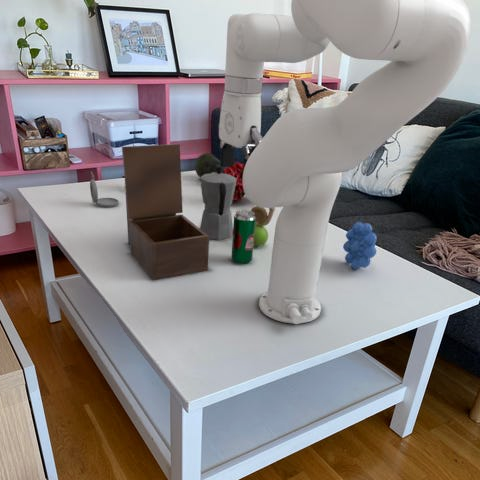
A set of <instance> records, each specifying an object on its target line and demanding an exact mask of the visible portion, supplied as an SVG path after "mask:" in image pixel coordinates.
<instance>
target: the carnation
mask: <svg viewBox="0 0 480 480" xmlns="http://www.w3.org/2000/svg"><path fill="white" fill-rule="evenodd" d="M220 163H221V160H220V159H218V157H216V156H215V155H214V154H212V153H210V152H205V153H203V154H201V155H199V156H198V157H197V158H196V161H195V165H194V169H195V173H196V175H197V176H198V178H200V177H202V176H203V175H204V174H211V173H212V172H215V173H217V170H216V166H220ZM221 173H223V174H228V175H231V176H233V177H235V178H237V181H236V186H235V191H234V196H233V201H232V203H237V202H240V201H242V200H243V198H245V196H246V195H245V192H244V189H243V177H242V174H243V163H240V162H237V161H234V165H233V166H231V167H223V168H222V172H221Z"/></svg>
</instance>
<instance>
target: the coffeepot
mask: <svg viewBox="0 0 480 480" xmlns="http://www.w3.org/2000/svg"><path fill="white" fill-rule="evenodd" d="M222 168H223V167H221V166H216V170H217V173H215V172H212V173H211V174H204V175H203V176H202V177H199V179H200V187H201V196H202V203H203V204H204V209H203V211H202V216H201V220H200V226H199V228H200V229H201V230H202V231H203V232H205V233H206V234H207V235H208V236H209V240H211V241H212V240H213V241H225V240H229V239H230V238H232V237H233V216H232V211H231V205H232V204H233V202H232V201H233V196H234V191H235V186H236V181H237V178H235V177H233V176H231V175H228V174H223V173H221V172H222Z"/></svg>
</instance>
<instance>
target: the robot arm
mask: <svg viewBox="0 0 480 480" xmlns="http://www.w3.org/2000/svg"><path fill="white" fill-rule="evenodd" d="M290 8H291V10H290V13H291V15H285V14H272V13H257V12H251V13H247V14H245V13H235V14H232V15H230V16H229V18H228V20H227V29H226V32H227V33H226V48H225V49H226V50H225V51H226V52H225V72H224V73H225V74H224V91H223V96H222V100H221V106H220V114H219V123H218V138H219V140H220V144H219V147H220V162H221V163H220V166H221V167H231V166H234V164H235V153H236V152H235V150H236V148H237V149H242V151H243V154H244V158H243V163H242V164H243V174H242V177H243V189H244V192H245V195H244V196H245V198H246V199H247V200H248V201H249V202H250V203H251V204H253V205H254V206H258V207H262V208H264V209H269V208H273V207H275V208H282V209H280V212H279V214H278V215H277V218H276V222H275V226H274V234H273V244H272V253H271V260H270V261H271V262H270V270H269V279H268V288H267V290H268V291H266V292H264V293H263V294H261V296H260V297H259V301H258V307H259V309H260V311H261V313H262V314H264V315H266V316H267V317H268V318H271V320H275V321H278V322H282V323H286V324H287V323H288V324H294V325H299V324H304V323H309V322H312V321H314V320H316V319H317V318H318V317H320V315H321V311H322V304H321V302H320V301H319V300H318V298H317V297H316V295H317V289H318V284H319V277H320V272H321V267H322V260H323V254H324V248H325V243H326V238H327V233H328V232H327V231H328V227H329V222H330V218H331V214H332V209H333V207H334V204H335V201H336V200H337V199H336V198H337V196H338V194H339V192H340V188H341V184H342V179H343V173H347V172H348V171H352V170H354V169H356V168H357V167H358V166H359V165H360V164H362V163H363V162H365V160H366V159H367V158H369V157H370V156H371V155H372V154H373V153H374V152H375V151H376V150H378V149H379V148H380V147H381V146H382V145H384V144H385V143H386V142H387V141H388V140H389V139H390V138H392V137H393V136H394V135H395V134H396V133H397V132H398V131H399V130H400V129H401V128H402V127H404V126H406V124H407V123H409V122H410V121H412V119H414V118H415V117H416V116H418V115H419V114H420V113H421V112H422V111H424V110H425V109H426V108H427V107H428V106H430V105H431V104H432V103H433V102H434V101H435V100H437V98H438V97H439V96H440V95H441V94H442V93H444V91H445V90H446V89H447V88H448V86H449V85H450V84H451V83H452V81H453V80H454V78H455V77H456V75H457V74H458V71H459V69H460V67H461V65H462V63H463V61H464V58H465V56H466V54H467V51H468V47H469V43H470V37H471V29H472V28H471V27H472V19H471V18H472V17H471V12H470V9H469V7H468V4H467V2H466V1H465V0H291V4H290ZM330 43H331V44H332V45H333V46H334V47H335V48H336V49H337V50H339V51H340V52H341V53H342V54H344V55H346V56H348V57H350V58H353V59H358V60H364V61H365V60H368V61H386V62H387V61H388V63H387V64H385V65H384V66H382V67H381V68H379V69H377V70H376V71H374V72H372V73H370V74H369V75H367V76H366V77H365V78H364V79H363V80H361V81H360V82H358V84H357V85H356V86H355V87H354V88H353V90H352V91H351V92H350V93H349V94H348V95H347V96H346V97H345V98H344V99H343V100H342V101H341V102H339V103H338V104H337V105H336V104H335V105H332V106H327V107H302V108H295V109H291V110H289V111H287V112H285V113H284V114H282V115H281V116H279V118H278V119H276V120H275V122H274V123H273V124H272V126H271V127H270V128H269V130H268V131H267V132H266V133H265V135H264V136H262V135H261V130H262V129H261V127H262V101H261V100H262V99H261V98H262V97H261V96H262V92H263V91H262V89H263V80H264V79H263V77H264V66H265V63H286V64H296V63H301V62H304V61H307V60H309V59H312V58H314V57H316V56H318V55H320V54H322V53H323V52H324V51H326V49H327V48H328V46H329V45H330ZM389 61H390V62H389Z"/></svg>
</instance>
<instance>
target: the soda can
mask: <svg viewBox="0 0 480 480" xmlns="http://www.w3.org/2000/svg"><path fill="white" fill-rule="evenodd" d="M255 223H256V217H255V213H254V212H253V211H251V209H250V210H249V209H238V210H236V211H235V213H234V216H233V223H232V225H233V234H232V241H231V255H230V256H231V257H230V259H231V261H233V262H234V263H235V264H238V265H247V264H250V263H251V262H252V261H253V256H254V255H253V254H254V246H253V245H254V234H255Z"/></svg>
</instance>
